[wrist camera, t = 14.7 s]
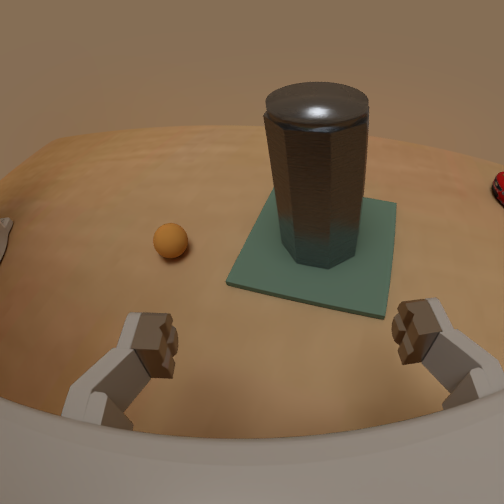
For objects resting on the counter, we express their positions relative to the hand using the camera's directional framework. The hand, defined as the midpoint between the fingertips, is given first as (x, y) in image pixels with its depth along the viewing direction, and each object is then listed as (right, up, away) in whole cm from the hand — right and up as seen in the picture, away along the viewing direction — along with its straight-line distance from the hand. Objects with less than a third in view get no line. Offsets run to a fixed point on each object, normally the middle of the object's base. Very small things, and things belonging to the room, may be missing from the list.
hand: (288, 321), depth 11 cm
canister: (+4, +3, +14) cm, 16 cm away
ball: (-8, +2, +17) cm, 19 cm away
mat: (+5, +3, +15) cm, 16 cm away
